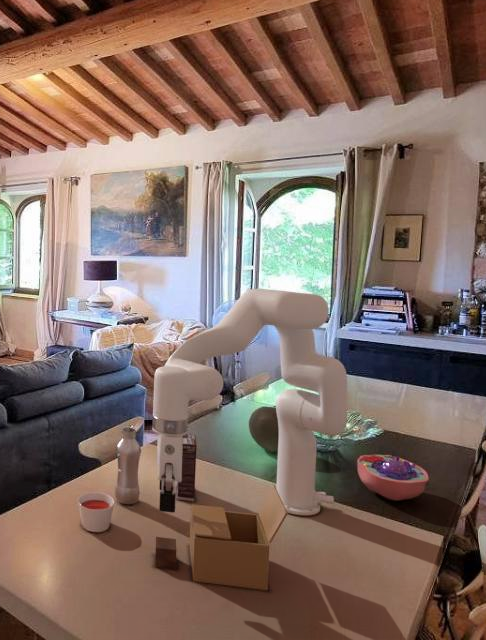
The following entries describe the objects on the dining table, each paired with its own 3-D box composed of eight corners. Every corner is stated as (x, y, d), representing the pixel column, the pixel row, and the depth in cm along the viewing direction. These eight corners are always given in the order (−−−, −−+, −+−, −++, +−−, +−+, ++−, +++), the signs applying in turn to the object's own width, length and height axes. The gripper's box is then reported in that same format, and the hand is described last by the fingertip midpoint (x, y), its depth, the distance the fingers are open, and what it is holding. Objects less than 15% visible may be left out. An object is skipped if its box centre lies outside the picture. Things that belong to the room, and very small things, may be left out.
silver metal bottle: (112, 496, 146) (114, 425, 144) (136, 495, 146) (138, 425, 145) (117, 507, 139) (118, 434, 138) (142, 507, 140) (144, 433, 139)
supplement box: (195, 502, 143) (197, 445, 142) (177, 500, 144) (178, 443, 143) (193, 487, 152) (195, 434, 150) (176, 486, 152) (178, 432, 151)
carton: (256, 554, 119) (257, 510, 118) (267, 590, 107) (269, 542, 106) (189, 546, 122) (190, 504, 121) (193, 581, 109) (194, 533, 108)
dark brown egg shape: (294, 448, 183) (296, 406, 182) (287, 462, 171) (289, 417, 170) (252, 439, 190) (254, 399, 189) (242, 452, 179) (244, 409, 178)
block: (175, 557, 117) (175, 538, 117) (175, 569, 113) (176, 550, 113) (155, 555, 118) (155, 536, 118) (155, 567, 114) (155, 547, 113)
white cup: (88, 538, 124) (89, 513, 124) (71, 520, 132) (71, 496, 132) (120, 529, 128) (121, 505, 128) (101, 513, 136) (101, 489, 136)
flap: (257, 511, 118) (258, 512, 118) (268, 542, 106) (270, 543, 106) (272, 484, 117) (274, 485, 117) (286, 512, 105) (288, 513, 105)
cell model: (418, 486, 155) (420, 449, 154) (432, 518, 137) (435, 475, 136) (353, 475, 162) (354, 439, 161) (358, 503, 144) (361, 463, 143)
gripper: (189, 439, 105) (186, 522, 106) (185, 413, 122) (182, 485, 123) (151, 436, 106) (148, 518, 107) (153, 410, 123) (150, 481, 124)
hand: (166, 500), depth 115 cm, fingers open, 9 cm apart
